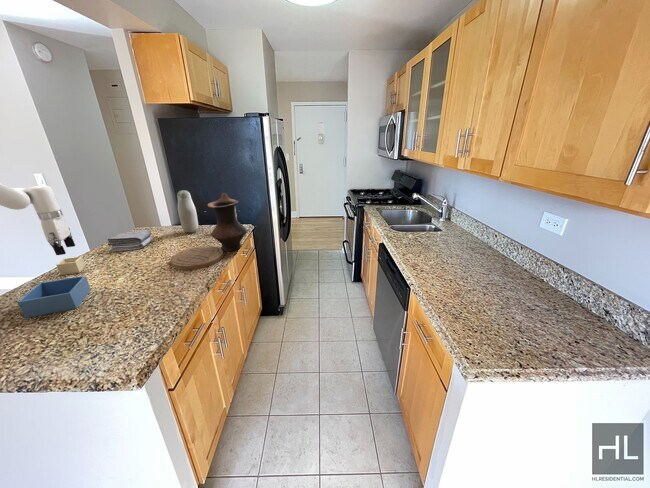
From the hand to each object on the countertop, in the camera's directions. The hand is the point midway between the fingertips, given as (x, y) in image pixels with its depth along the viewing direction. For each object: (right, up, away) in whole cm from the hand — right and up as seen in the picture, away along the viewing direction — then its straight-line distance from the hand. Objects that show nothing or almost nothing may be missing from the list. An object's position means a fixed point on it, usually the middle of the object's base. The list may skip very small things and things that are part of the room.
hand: (66, 250), depth 120 cm
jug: (+66, +1, +29) cm, 72 cm away
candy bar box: (+54, +12, +58) cm, 80 cm away
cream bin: (0, -10, +4) cm, 11 cm away
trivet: (+53, -5, +16) cm, 56 cm away
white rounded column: (+30, +11, +55) cm, 63 cm away
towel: (+6, +2, +32) cm, 33 cm away
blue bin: (+18, -20, -20) cm, 34 cm away
